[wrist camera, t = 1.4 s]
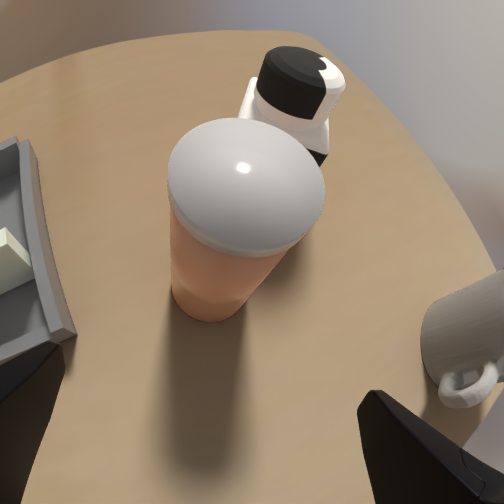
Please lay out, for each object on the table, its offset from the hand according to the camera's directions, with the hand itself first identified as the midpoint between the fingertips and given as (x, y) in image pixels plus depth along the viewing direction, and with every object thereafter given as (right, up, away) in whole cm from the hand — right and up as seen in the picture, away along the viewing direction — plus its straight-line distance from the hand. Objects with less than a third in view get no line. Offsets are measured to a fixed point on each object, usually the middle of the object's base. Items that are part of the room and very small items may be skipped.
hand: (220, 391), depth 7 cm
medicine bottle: (+2, +12, +21) cm, 24 cm away
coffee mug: (+20, -6, +17) cm, 27 cm away
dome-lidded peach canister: (-2, +1, +15) cm, 15 cm away
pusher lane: (-20, +4, +11) cm, 23 cm away
